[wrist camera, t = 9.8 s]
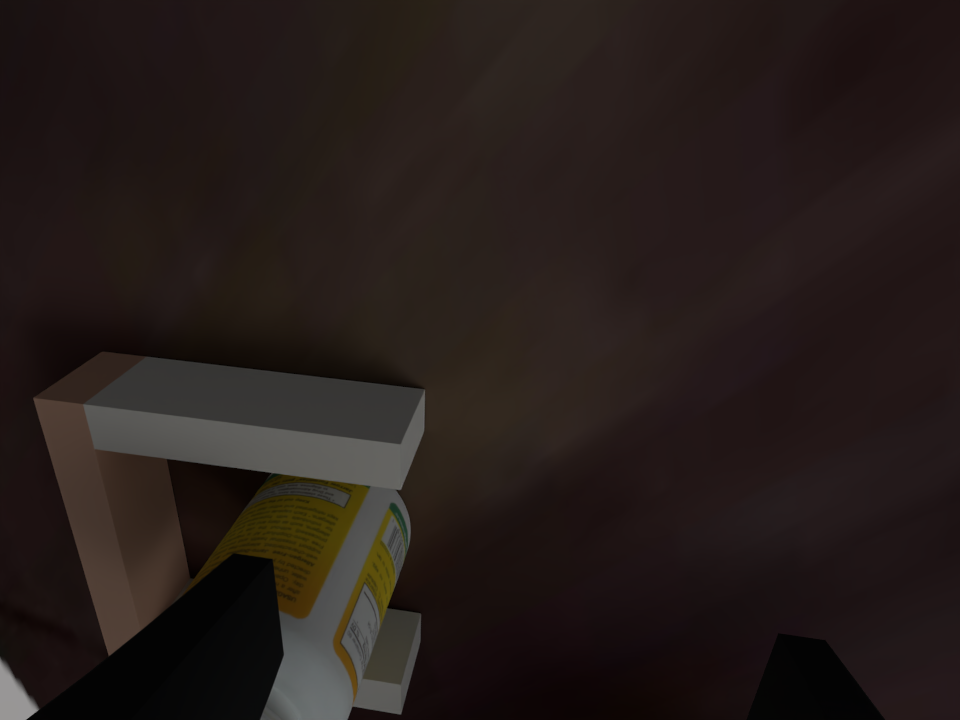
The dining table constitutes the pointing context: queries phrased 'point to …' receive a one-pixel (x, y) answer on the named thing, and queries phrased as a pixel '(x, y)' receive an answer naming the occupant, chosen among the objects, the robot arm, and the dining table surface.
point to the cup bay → (223, 442)
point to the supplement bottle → (322, 583)
